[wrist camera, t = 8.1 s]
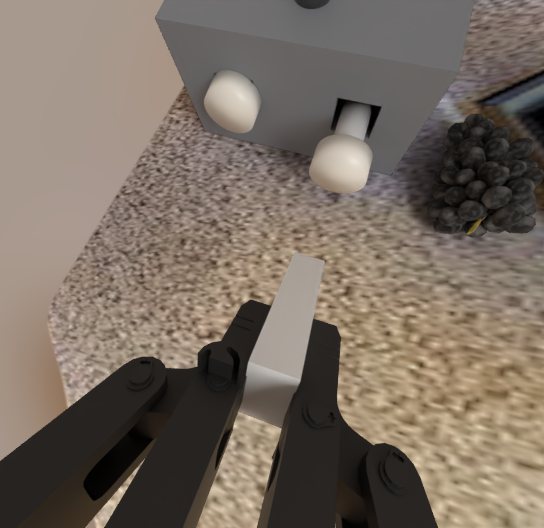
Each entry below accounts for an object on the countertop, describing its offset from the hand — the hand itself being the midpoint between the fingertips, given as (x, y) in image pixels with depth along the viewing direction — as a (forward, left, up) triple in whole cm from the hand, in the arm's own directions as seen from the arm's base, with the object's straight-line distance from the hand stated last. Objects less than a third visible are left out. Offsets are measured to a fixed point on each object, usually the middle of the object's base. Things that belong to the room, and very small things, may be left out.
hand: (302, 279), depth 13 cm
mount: (+6, -22, -16) cm, 27 cm away
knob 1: (+12, -19, -11) cm, 25 cm away
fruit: (-14, -18, -16) cm, 28 cm away
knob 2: (0, -15, -11) cm, 19 cm away
